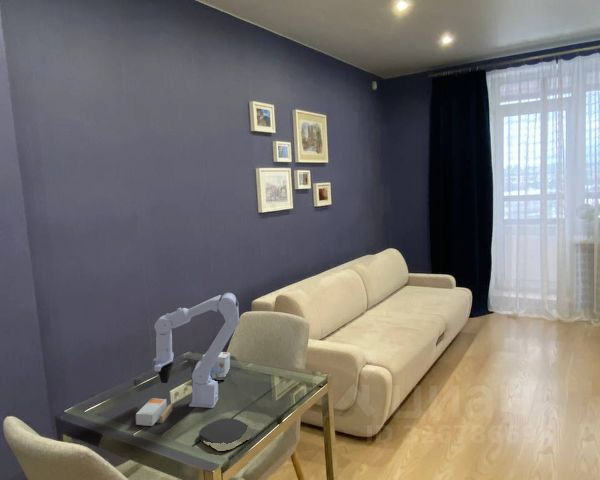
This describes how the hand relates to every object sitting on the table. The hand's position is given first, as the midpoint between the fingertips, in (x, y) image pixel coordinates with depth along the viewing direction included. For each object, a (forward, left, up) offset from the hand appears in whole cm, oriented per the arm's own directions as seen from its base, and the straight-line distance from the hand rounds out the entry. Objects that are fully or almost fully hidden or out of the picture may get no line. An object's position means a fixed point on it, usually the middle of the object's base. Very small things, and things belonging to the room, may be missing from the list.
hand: (164, 382), depth 168 cm
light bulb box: (-13, -26, -9) cm, 30 cm away
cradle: (0, +10, -8) cm, 13 cm away
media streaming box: (-29, +21, -9) cm, 37 cm away
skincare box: (0, +5, -6) cm, 8 cm away
